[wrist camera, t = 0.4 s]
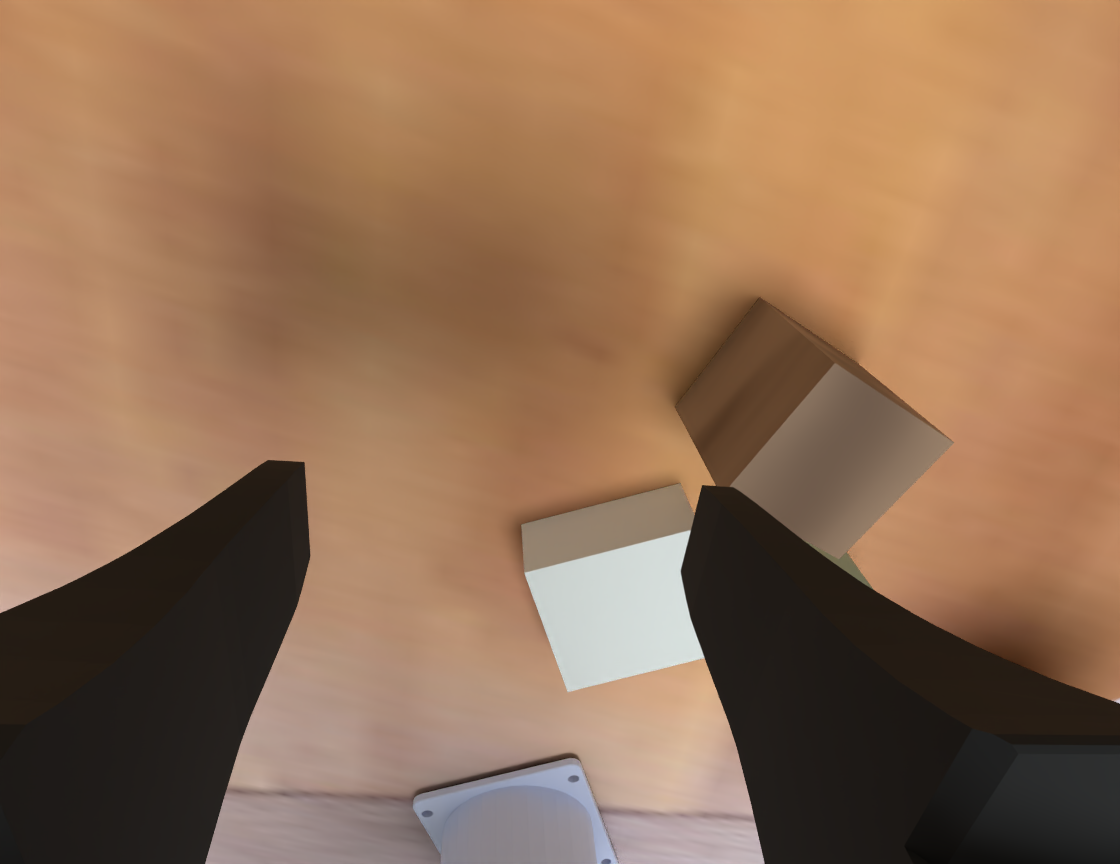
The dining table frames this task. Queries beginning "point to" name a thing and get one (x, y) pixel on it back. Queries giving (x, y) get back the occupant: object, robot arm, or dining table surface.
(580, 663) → the ceramic slab
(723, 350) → the walnut block
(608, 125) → the dining table surface
